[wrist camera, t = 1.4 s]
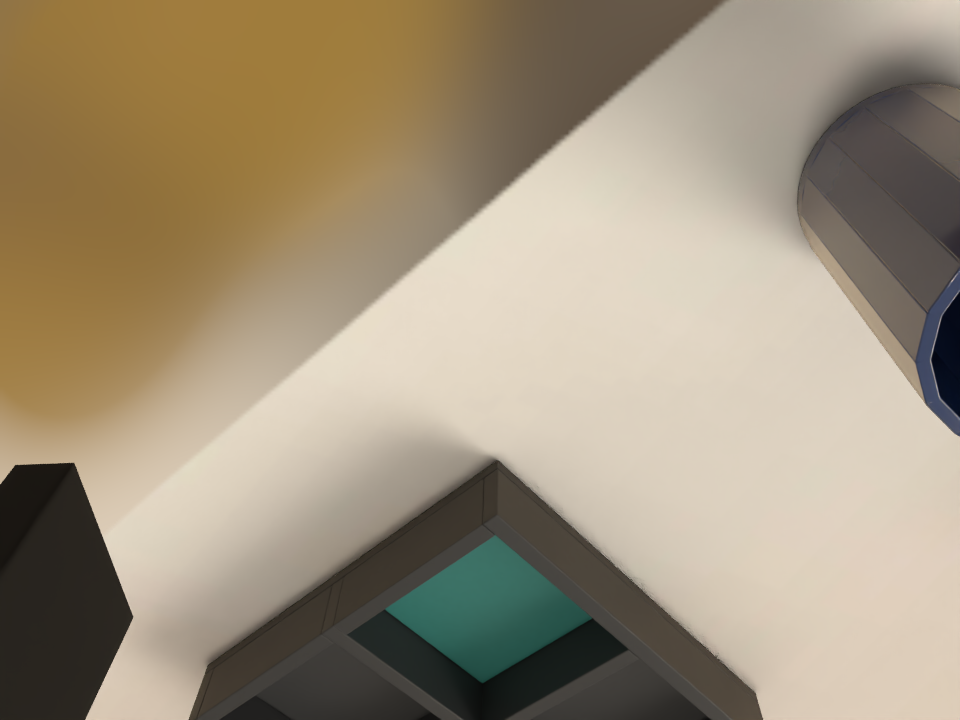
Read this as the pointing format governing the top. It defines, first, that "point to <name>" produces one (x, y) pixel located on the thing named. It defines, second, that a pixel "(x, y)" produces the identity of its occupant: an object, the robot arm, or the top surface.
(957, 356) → the cup
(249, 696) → the tray
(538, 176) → the top surface
